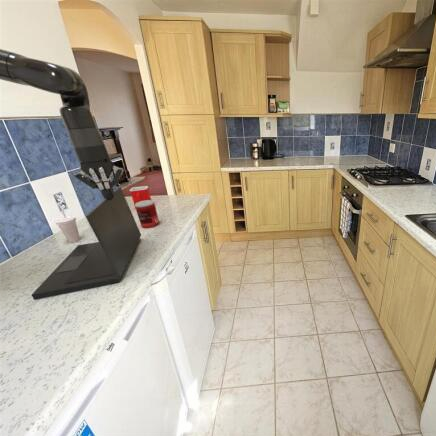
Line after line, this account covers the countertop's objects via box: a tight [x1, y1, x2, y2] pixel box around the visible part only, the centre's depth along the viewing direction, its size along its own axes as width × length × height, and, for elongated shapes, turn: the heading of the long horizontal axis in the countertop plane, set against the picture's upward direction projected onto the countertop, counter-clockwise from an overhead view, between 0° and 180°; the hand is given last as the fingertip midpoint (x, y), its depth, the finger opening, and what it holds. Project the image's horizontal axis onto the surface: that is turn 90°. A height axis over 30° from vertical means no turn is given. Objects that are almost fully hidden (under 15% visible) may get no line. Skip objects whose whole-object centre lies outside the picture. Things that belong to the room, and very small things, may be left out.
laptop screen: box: [85, 186, 142, 278], centre depth 83 cm, size 21×30×1 cm
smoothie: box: [54, 208, 81, 243], centre depth 99 cm, size 6×6×14 cm
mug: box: [129, 185, 152, 210], centre depth 134 cm, size 12×8×11 cm
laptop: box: [31, 238, 141, 301], centre depth 84 cm, size 21×30×2 cm
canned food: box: [134, 199, 160, 229], centre depth 112 cm, size 8×8×11 cm
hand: (110, 199), depth 79 cm, fingers closed
